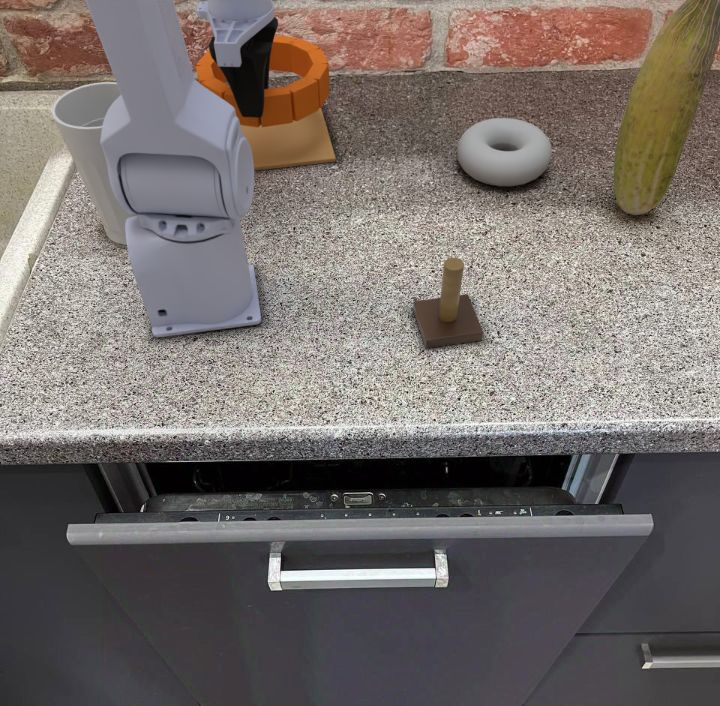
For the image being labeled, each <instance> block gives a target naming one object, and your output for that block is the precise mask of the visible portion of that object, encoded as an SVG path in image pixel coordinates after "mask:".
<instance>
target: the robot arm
mask: <svg viewBox="0 0 720 706" xmlns="http://www.w3.org/2000/svg"><path fill="white" fill-rule="evenodd" d="M84 1H85V4H86V6H87V9H88V12H89V14H90V17H91V20H92V22H93V25H94V27H95V30H96V32H97V35H98V38H99V40H100V43H101V45H102V48H103V51H104V54H105V57H106V58H107V61H108V65H109V66H110V67H109V68H110V69H111V72H112V75H113V78H114V80H115V82H116V83H117V85H118V88H119V90H120V93H121V95H120V96H119V97H118V98H117V99H116V100H115V101H114V102H113V104H112V105H111V106H110V108H109V109H108V111H107V114H106V116H105V119H104V122H103V126H102V132H101V140H100V144H101V146H102V149H103V152H104V155H105V158H106V162H107V166H108V175H109V181H110V185H111V188H112V191H113V193H114V196H115V197H116V199H117V201H118V202H119V203H120V205H121V206H122V208H123V209H124V210H125V211H126V212H128V213H130V214H137V216H134V217H130V218H127V219H126V222H125V233H126V242H127V245H126V248H127V253H128V257H129V262H130V266H131V271H132V273H133V276H134V279H135V282H136V285H137V288H138V291H139V293H140V297H141V299H142V302H143V306H144V307H145V311H146V313H147V317H148V319H149V322H150V326H151V333H152V336H153V337H154V338H164V337H172V336H173V337H174V336H180V335H187V334H196V333H202V332H209V331H217V330H225V329H226V330H227V329H232V328H233V329H234V328H241V327H247V326H256V325H259V324H261V322H262V314H261V307H260V300H259V294H258V292H259V291H258V285H257V280H256V272H255V266H254V265H253V264H250V263H249V262H248V256H247V251H246V246H245V239H244V234H243V229H242V221H241V220H243V219H244V218H245V217H246V215H247V214H248V213H249V211H250V210H251V207H252V204H253V200H254V194H255V193H254V192H255V171H254V163H253V156H252V151H251V147H250V144H249V142H248V141H247V139H246V138H245V136H244V134H243V131H242V129H241V125H240V122H239V119H238V118H237V116H236V111H235V108H234V107H233V106H232V105H230V104H229V103H227V102H226V101H225V100H223V99H222V98H220V97H219V96H217V95H216V94H214V93H213V92H211V91H210V90H208V89H207V88H205V87H204V86H202V85H201V84H200V83H199V81H197V80H196V78H195V74H194V71H193V68H192V64H191V60H190V57H189V52H188V48H187V45H186V41H185V38H184V34H183V30H182V25H181V22H180V19H179V15H178V12H177V8H176V4H175V1H174V0H84ZM195 10H196V17H197V18H198V19H200V20H201V19H202V20H207V21H208V22H209V25H210V28H211V30H212V33H213V36H212V37H211V39H210V40H209V42H208V43H209V44H208V51H210V54H211V57H212V59H213V60H214V61H215V62H216V63H217V65H218V66H219V67H220V69H221V70H222V72H223V74H224V75H225V77H226V79H227V81H226V82H227V83H228V85H229V86H230V88H231V90H232V93H233V95H234V98H235V101H236V103H237V106H238V108H239V111H240V113H241V115H242V117H262V115H263V109H264V89H269V83H270V82H269V81H270V69H269V66H270V56H271V50H272V44H273V40H274V36H275V35H276V33H277V30H278V27H279V20H278V18H277V17H275V15H276V10H275V4H274V2H273V0H206V1H205V0H204V1H200V2H199V3H198V4H197V7H196V8H195Z"/></svg>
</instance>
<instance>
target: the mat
mask: <svg viewBox="0 0 720 706" xmlns="http://www.w3.org/2000/svg"><path fill="white" fill-rule="evenodd" d="M241 129H242V131H243V134H244V136H245V138H246V139H247V141H248V142H249V144H250V147H251V151H252V156H253V163H254V172H255V171H263V170H272V169H281V168H290V167H299V166H300V167H301V166H306V165H307V166H308V165H317V164H326V163H327V164H328V163H334V162H336V161H337V158H336V154H335V150H334V148H333V144H332V140H331V138H330V134H329V130H328V127H327V124H326V120H325V116H324V113H323V110H322V107H321V108H319V110H318V111H316V112H314V113H312V114H310V115H308V116H306V117H304V118H302V119H301V120H299V121H294V120H293V123H288V124H281V125H275V126H268V127H262V126H261V125H260V126H259V127H251V126H243V125H241Z"/></svg>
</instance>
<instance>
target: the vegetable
mask: <svg viewBox="0 0 720 706" xmlns="http://www.w3.org/2000/svg"><path fill="white" fill-rule="evenodd" d="M719 43H720V0H685V1H684V2H683V3H682V4H681V5H679V7H677V8H676V9H675V11H674V12H672V13H671V15H670V16H669V17H668V18H667V19H666V20H665V22H664V23H663V24H662V26H661V27H660V30H659V31H658V33H657V34H656V36H655V38H654V41H653V42H652V44H651V46H650V48H649V50H648V52H647V54H646V56H645V58H644V60H643V63H642V64H641V66H640V69H639V71H638V73H637V75H636V78H635V80H634V82H633V85H632V87H631V90H630V92H629V96H628V98H627V102H626V105H625V109H624V111H623V116H622V119H621V122H620V125H619V130H618V133H617V137H616V145H615V153H614V159H613V192H614V196H615V200H616V203H617V205H618V206H619V208H620V209H621V211H623V212H624V213H626V214H628V215H632V216H638V215H644V214H646V213H649V212H650V211H651V210H653V209H654V208H655V207H657V205H659V204H660V202H661V201H663V198H664V197H665V196H666V194H667V192H668V190H669V188H670V187H671V184H672V182H673V179H674V177H675V175H676V172H677V169H678V166H679V162H680V159H681V156H682V153H683V150H684V146H685V144H686V142H687V139H688V136H689V133H690V131H691V127H692V124H693V121H694V119H695V116H696V114H697V111H698V108H699V106H700V105H699V104H700V102H701V100H702V96H703V93H704V91H705V87H706V85H707V82H708V78H709V75H710V72H711V70H712V67H713V63H714V62H715V61H714V60H715V58H716V57H715V56H716V54H717V50H718V47H719Z"/></svg>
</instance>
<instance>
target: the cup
mask: <svg viewBox="0 0 720 706" xmlns="http://www.w3.org/2000/svg"><path fill="white" fill-rule="evenodd" d="M120 95H121V93H120V90H119V88H118V85H117V83H116V81H101V82H93V83H89V84H84V85H81V86H77V87H75V88H73V89H70V90H69V91H67V92H65V93H63V94H62V95H60V96H59V97H57V99H56V100H55V101H54V103H53V104H52V107H51V116H52V118H53V120H54V122H55V125H56V127H57V129H58V131H59V133H60V135H61V137H62V139H63V141H64V143H65V145H66V147H67V150H68V152H69V154H70V156H71V158H72V160H73V163H74V165H75V167H76V169H77V171H78V174H79V176H80V178H81V180H82V182H83V185H84V186H85V189H86V191H87V193H88V195H89V197H90V199H91V202H92V204H93V206H94V208H95V210H96V213H97V215H98V217H99V219H100V221H101V223H102V227H103V230H104V232H105V235H106V237H107V238H108V239H109V240H111V241H112V242H114V243H116V244H120V245H123V246H127V242H126V233H125V222H126V219H127V218H130V217H134V216H137V214H130V213H128V212H126V211H125V210H124V209H123V208H122V206H121V205H120V203H119V202H118V201H117V199H116V197H115V196H114V193H113V191H112V188H111V185H110V181H109V175H108V166H107V162H106V158H105V155H104V152H103V149H102V146H101V144H100V140H101V132H102V126H103V122H104V119H105V116H106V114H107V111H108V109H109V108H110V106H111V105H112V104H113V102H114V101H115V100H116V99H117V98H118V97H119V96H120Z"/></svg>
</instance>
